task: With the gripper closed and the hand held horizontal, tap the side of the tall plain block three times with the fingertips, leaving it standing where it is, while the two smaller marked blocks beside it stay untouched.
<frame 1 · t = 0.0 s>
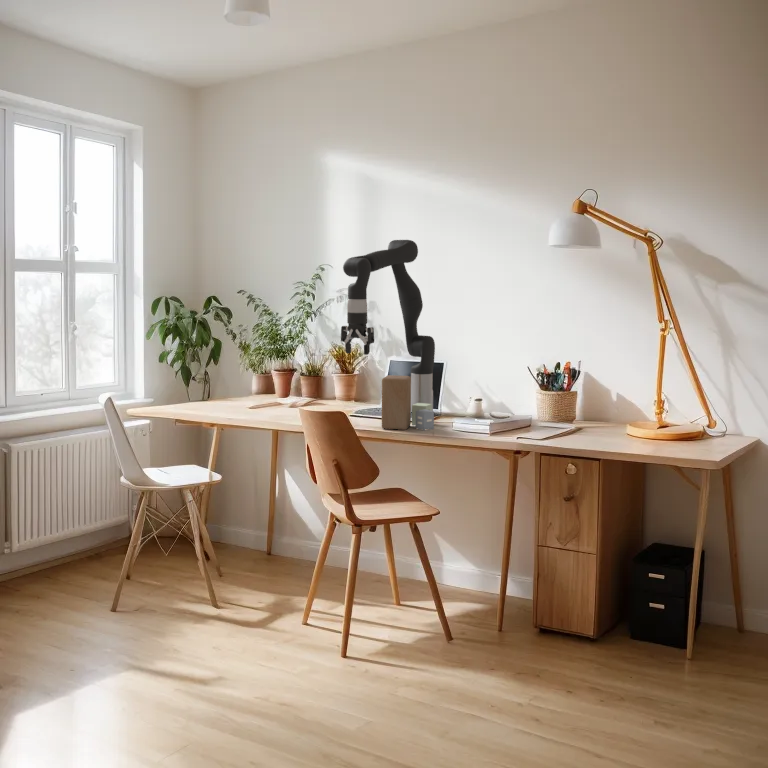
hand: (357, 353, 324), 29 cm above the table, tool pointing down, fingers open, 8 cm apart
slate block: (424, 428, 330), on the table
sage block: (421, 424, 339), on the table
block: (396, 428, 332), on the table
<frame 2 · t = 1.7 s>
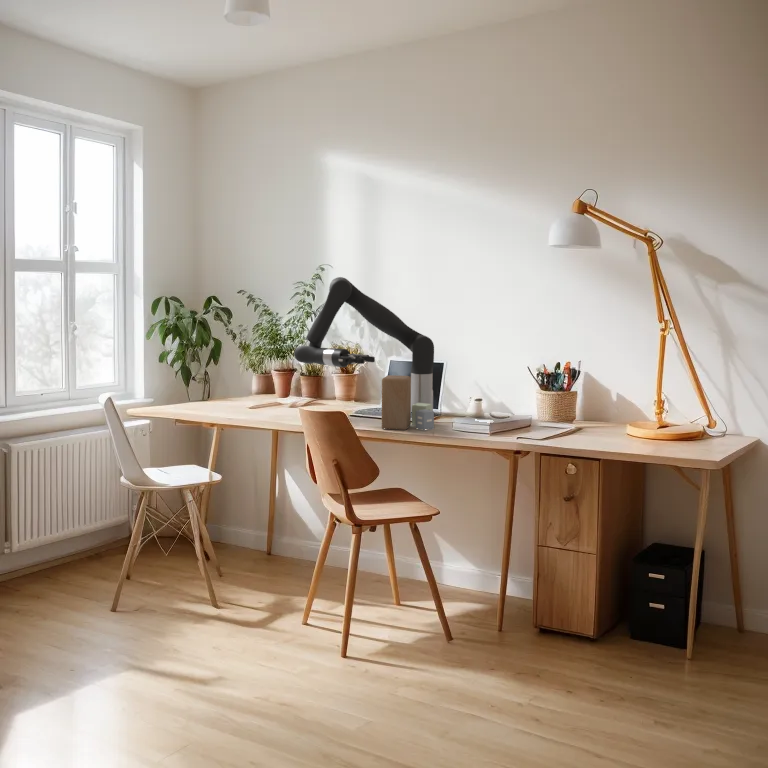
hand: (368, 360, 339), 25 cm above the table, tool horizontal, fingers open, 6 cm apart
nothing on the table moved.
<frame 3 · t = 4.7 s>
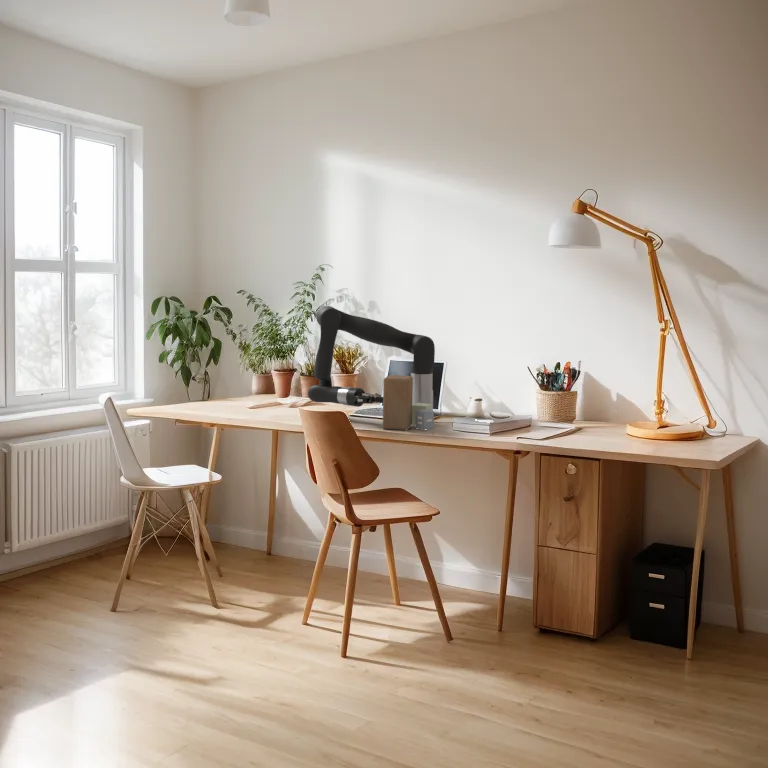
hand: (385, 400, 333), 10 cm above the table, tool horizontal, fingers closed
block: (397, 428, 331), on the table, touching gripper
everything else where it was.
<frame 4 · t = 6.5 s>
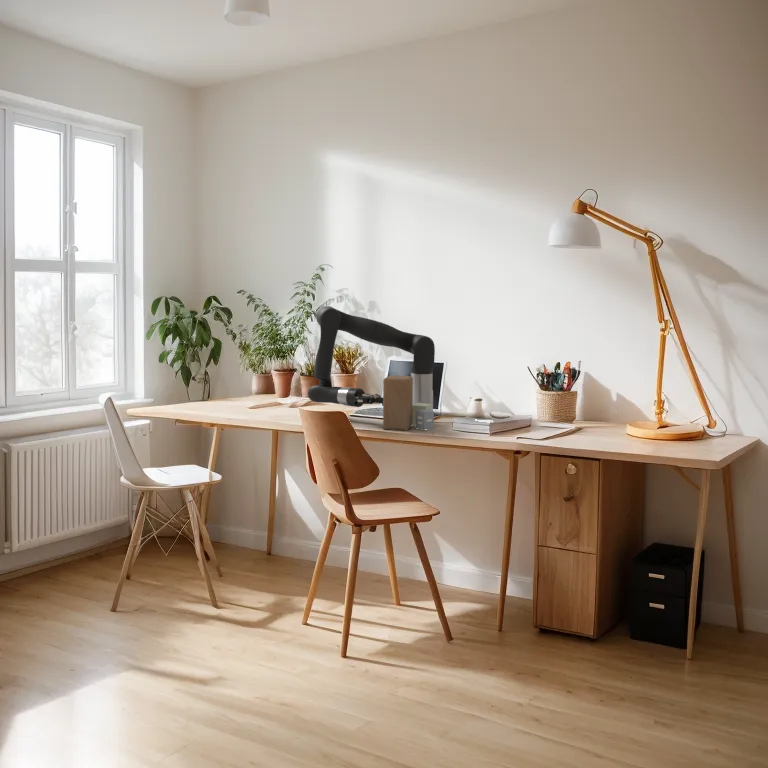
hand: (385, 401, 333), 10 cm above the table, tool horizontal, fingers closed
block: (397, 428, 331), on the table
everything else where it was.
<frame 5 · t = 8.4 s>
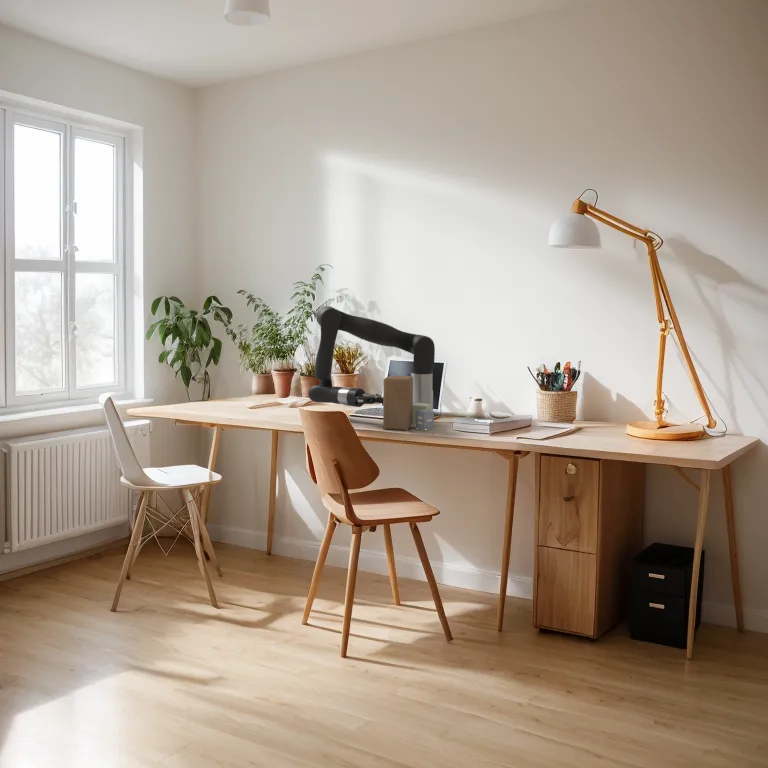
hand: (386, 400, 333), 10 cm above the table, tool horizontal, fingers closed
block: (398, 428, 331), on the table, touching gripper
everything else where it was.
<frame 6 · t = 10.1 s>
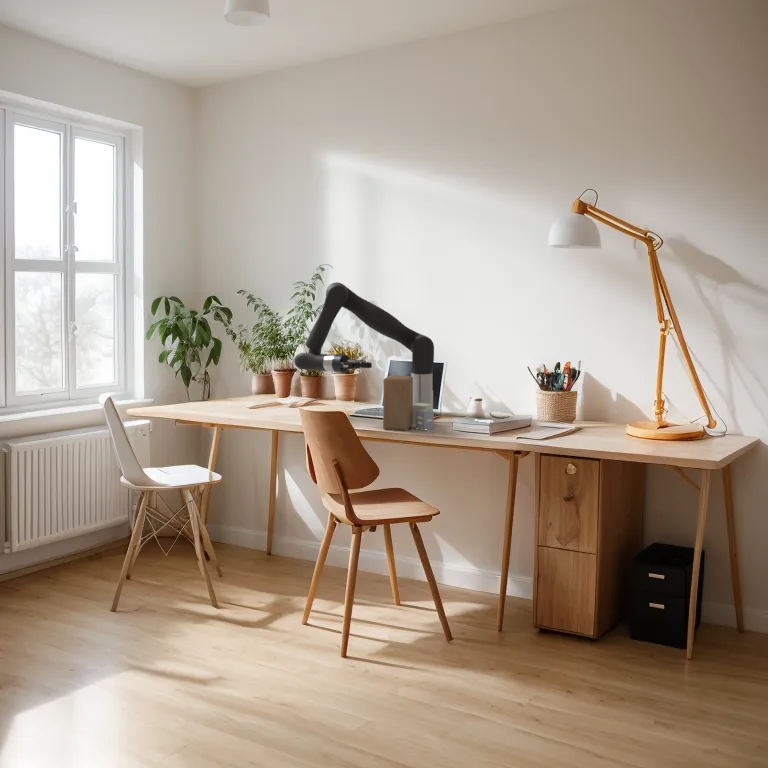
hand: (370, 365, 340), 23 cm above the table, tool horizontal, fingers closed
block: (398, 428, 331), on the table
everything else where it was.
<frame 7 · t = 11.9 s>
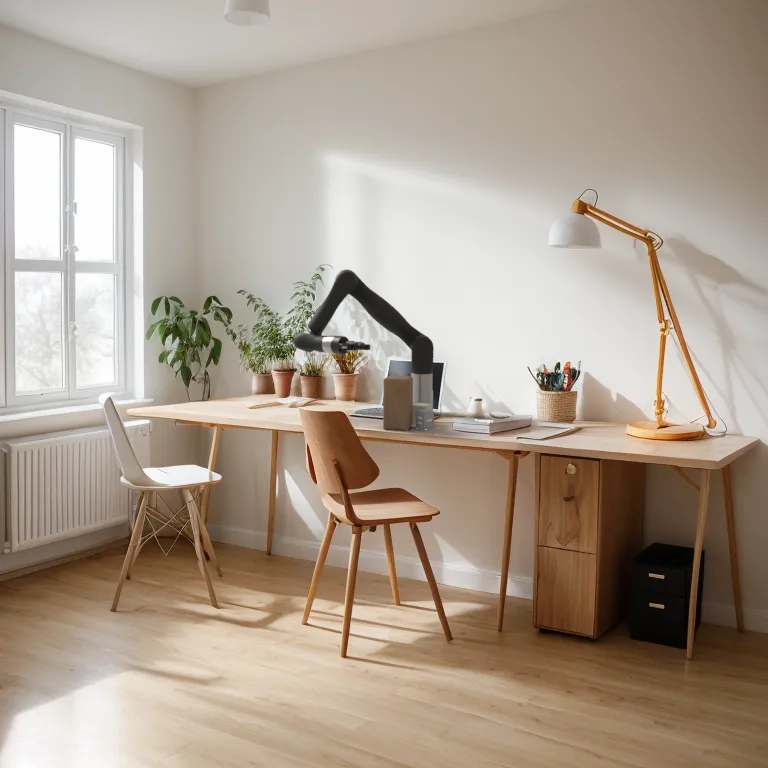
hand: (369, 347, 341), 30 cm above the table, tool horizontal, fingers closed
nothing on the table moved.
at the end: block moved 0.9 cm from its start; block tilted 0°; sage block moved 0.1 cm from its start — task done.
